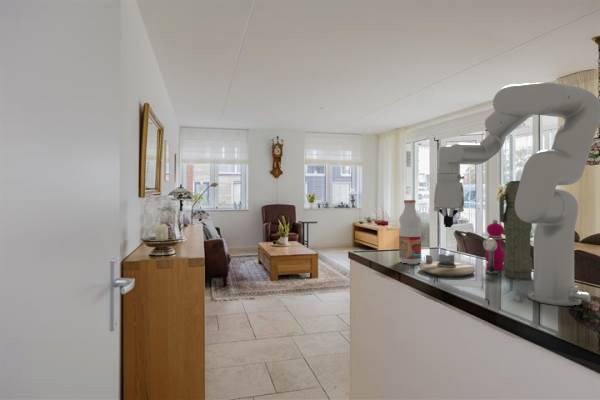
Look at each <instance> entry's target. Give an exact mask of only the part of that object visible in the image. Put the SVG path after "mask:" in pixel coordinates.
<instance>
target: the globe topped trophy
mask: <svg viewBox="0 0 600 400" xmlns="http://www.w3.org/2000/svg"><path fill="white" fill-rule="evenodd" d="M482 246H483V249H484V250H485V252H487V251H489V269H487V270H485V274H487V275H498V270H497V271H496V270H494V250H496V248H497V242H496V241H495V240H494V239H492V238H485V239H484V240H483V241H482Z"/></svg>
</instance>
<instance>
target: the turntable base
mask: <svg viewBox="0 0 600 400" xmlns="http://www.w3.org/2000/svg"><path fill="white" fill-rule="evenodd" d="M424 272H425V273H426V274H429V275H433V276H438V277H447V278H460V277H461V278H462V277H467V276H469V275H470V274H465V275H446V274H436V273H430V272H426V271H424Z"/></svg>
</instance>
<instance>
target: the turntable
mask: <svg viewBox="0 0 600 400" xmlns="http://www.w3.org/2000/svg"><path fill="white" fill-rule="evenodd" d="M437 263H439V261H433V255H432V254H425V262H421V263H420V264H418V266H419V267H418V268H419V270H421V271H423V272H425V271H426V272H430V273H436V274H446V275H465V274H469V275H471V274H473V273H476V272H475V271H476V268H475V266H473V265H470V264H468V263H467V264H466V263H462V262H455V261H454V264H456V267H455V268H442V267H438V266H437ZM426 272H425V273H426Z"/></svg>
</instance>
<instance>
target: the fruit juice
mask: <svg viewBox="0 0 600 400" xmlns="http://www.w3.org/2000/svg"><path fill="white" fill-rule="evenodd" d="M416 203H417V202H416V200H415V199H404V200H403V205H404V209H403V212H402V213H401V215H400V216H399V220H398V222H399V225H400V226H399V230H398V240H399V241H398V260H399V263H400V262H402V263H401V264H403V263H409V264H408V265H419V264H418V263H420V264H421V263H422V230H421V226H420V225H421V222H422V221H421V220H422V219H421V216H420V214H419V213H418V212H417V210H416Z"/></svg>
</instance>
